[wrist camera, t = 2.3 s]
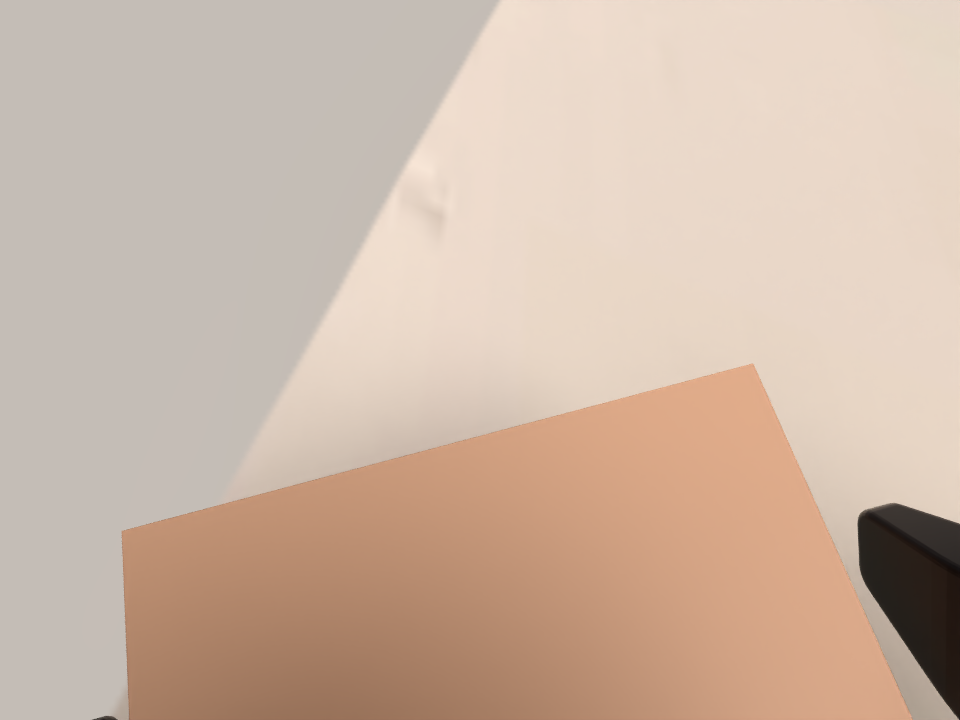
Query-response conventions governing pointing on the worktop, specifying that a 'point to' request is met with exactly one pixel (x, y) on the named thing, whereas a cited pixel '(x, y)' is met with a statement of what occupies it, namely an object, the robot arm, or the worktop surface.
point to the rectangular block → (518, 582)
